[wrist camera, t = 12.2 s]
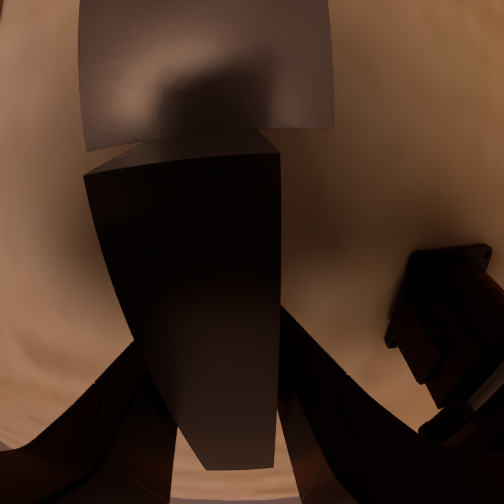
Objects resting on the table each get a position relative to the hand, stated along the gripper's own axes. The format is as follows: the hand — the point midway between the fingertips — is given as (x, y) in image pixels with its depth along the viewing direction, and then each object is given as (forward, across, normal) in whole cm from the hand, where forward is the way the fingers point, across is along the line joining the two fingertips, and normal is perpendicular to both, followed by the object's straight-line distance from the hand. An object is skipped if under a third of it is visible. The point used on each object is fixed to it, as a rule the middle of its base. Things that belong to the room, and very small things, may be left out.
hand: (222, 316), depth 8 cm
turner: (+1, 0, -3) cm, 4 cm away
